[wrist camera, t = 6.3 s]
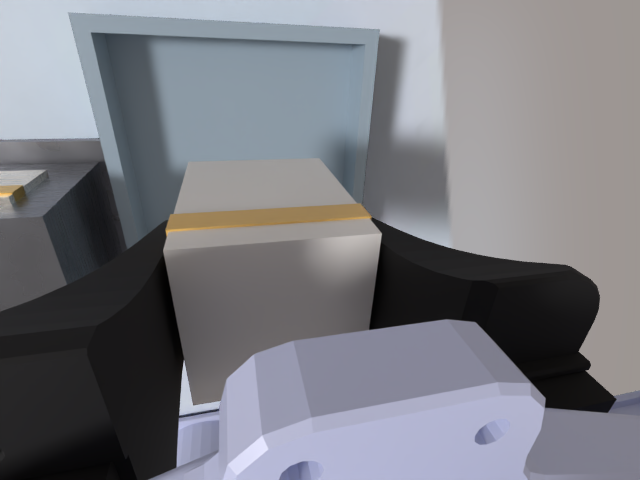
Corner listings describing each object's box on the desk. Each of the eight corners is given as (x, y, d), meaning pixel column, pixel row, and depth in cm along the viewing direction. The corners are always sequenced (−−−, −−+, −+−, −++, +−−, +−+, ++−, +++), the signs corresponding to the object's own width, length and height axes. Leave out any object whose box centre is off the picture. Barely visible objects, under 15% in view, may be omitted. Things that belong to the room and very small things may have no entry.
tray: (344, 244, 24) (356, 264, 22) (145, 261, 21) (136, 285, 19) (360, 30, 18) (379, 29, 16) (89, 16, 15) (68, 12, 13)
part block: (316, 264, 15) (363, 377, 10) (202, 275, 14) (191, 407, 9) (320, 156, 13) (384, 231, 8) (186, 160, 12) (160, 248, 7)
